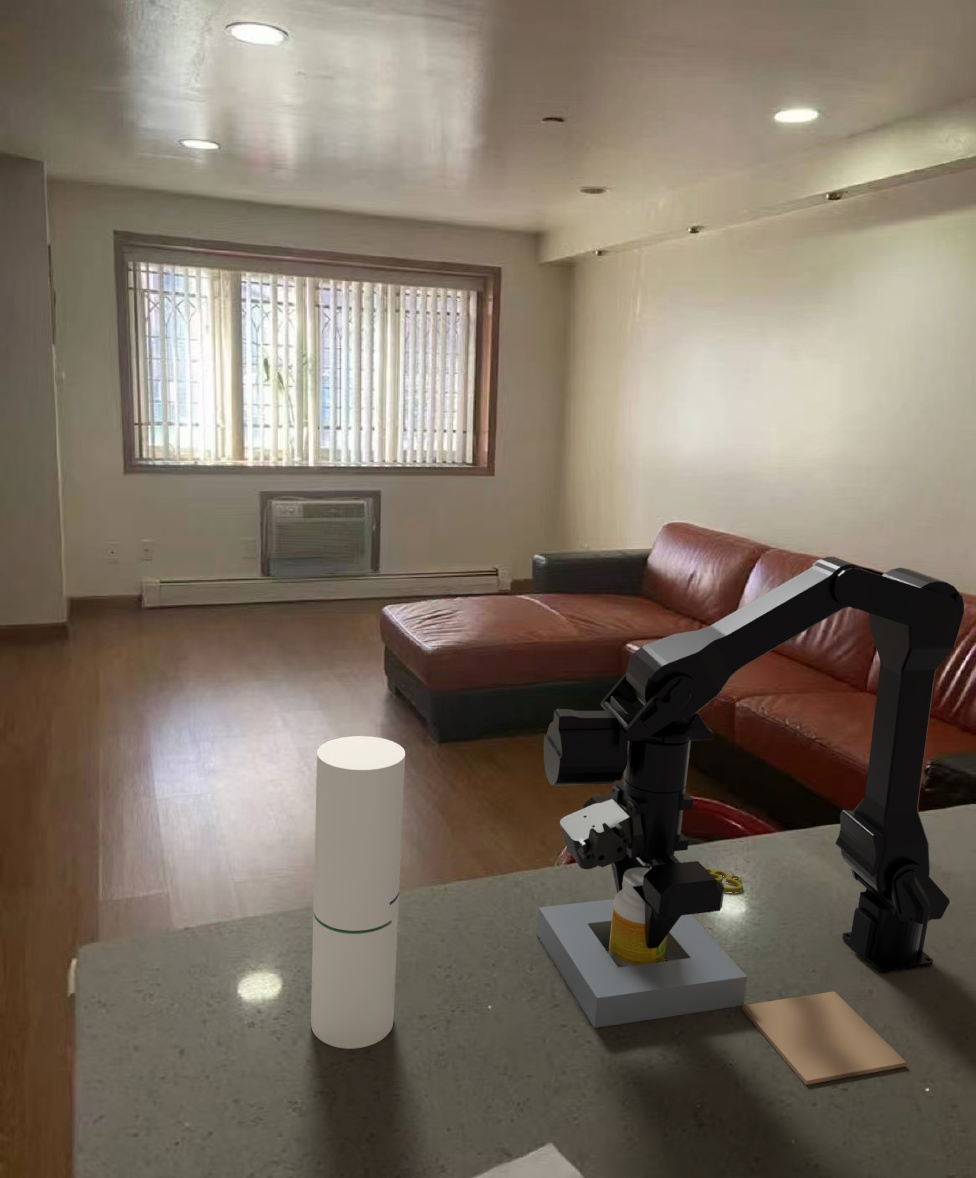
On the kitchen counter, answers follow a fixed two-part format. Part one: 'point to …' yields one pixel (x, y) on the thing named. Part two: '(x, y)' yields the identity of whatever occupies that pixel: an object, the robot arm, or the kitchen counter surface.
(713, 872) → the key
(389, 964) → the cylindrical container
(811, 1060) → the pad
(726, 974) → the grey rectangular frame
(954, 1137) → the kitchen counter surface
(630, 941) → the supplement bottle
